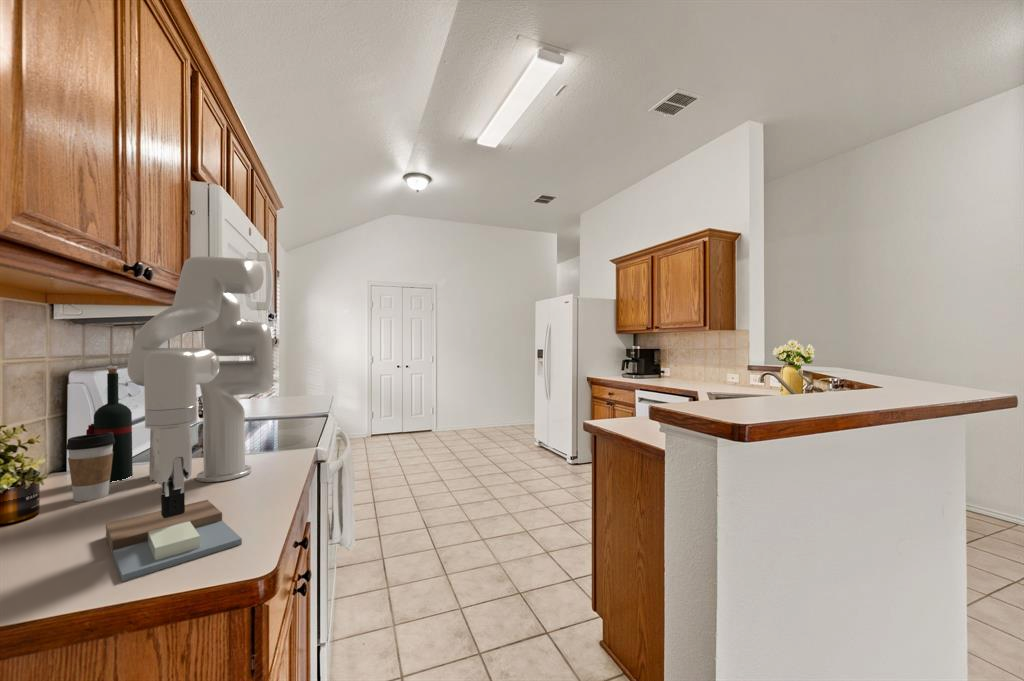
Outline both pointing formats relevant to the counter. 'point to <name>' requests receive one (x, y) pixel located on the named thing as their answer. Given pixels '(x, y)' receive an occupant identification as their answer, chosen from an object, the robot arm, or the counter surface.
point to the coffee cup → (90, 465)
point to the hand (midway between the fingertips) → (173, 514)
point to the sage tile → (173, 540)
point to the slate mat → (142, 562)
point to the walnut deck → (158, 524)
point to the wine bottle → (115, 429)
